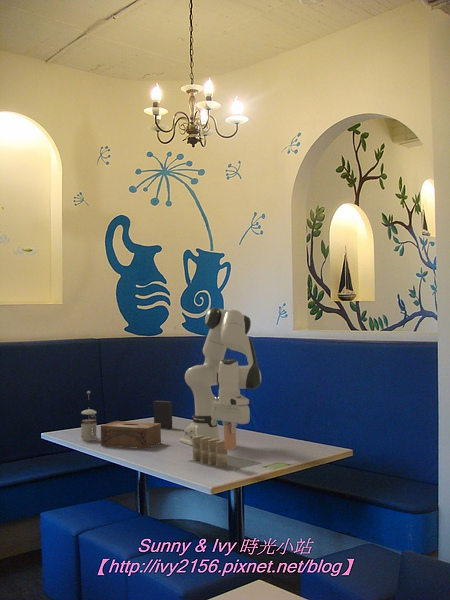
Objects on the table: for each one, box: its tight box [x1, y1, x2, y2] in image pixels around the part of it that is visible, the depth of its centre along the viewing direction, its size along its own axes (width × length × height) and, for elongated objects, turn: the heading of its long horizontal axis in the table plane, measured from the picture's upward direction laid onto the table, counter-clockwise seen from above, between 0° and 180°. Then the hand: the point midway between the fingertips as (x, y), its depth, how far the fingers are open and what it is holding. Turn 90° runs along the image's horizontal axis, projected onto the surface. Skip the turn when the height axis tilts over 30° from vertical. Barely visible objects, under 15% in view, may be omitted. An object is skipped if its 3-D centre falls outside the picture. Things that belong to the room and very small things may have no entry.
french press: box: [79, 390, 99, 442], centre depth 333 cm, size 10×12×25 cm
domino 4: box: [216, 440, 228, 467], centre depth 264 cm, size 2×5×10 cm, turn 132°
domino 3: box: [208, 439, 219, 465], centre depth 268 cm, size 2×5×10 cm, turn 132°
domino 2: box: [200, 437, 212, 463], centre depth 272 cm, size 2×5×10 cm, turn 132°
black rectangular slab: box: [152, 400, 173, 430], centre depth 362 cm, size 11×4×15 cm, turn 58°
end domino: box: [223, 423, 237, 451], centre depth 261 cm, size 2×5×10 cm, turn 132°
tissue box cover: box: [100, 420, 162, 449], centre depth 316 cm, size 26×14×10 cm, turn 68°
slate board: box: [188, 454, 262, 472], centre depth 271 cm, size 26×20×1 cm
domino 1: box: [192, 436, 204, 461], centre depth 276 cm, size 2×5×10 cm, turn 132°
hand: (229, 432), depth 261 cm, fingers closed on end domino, 2 cm apart
